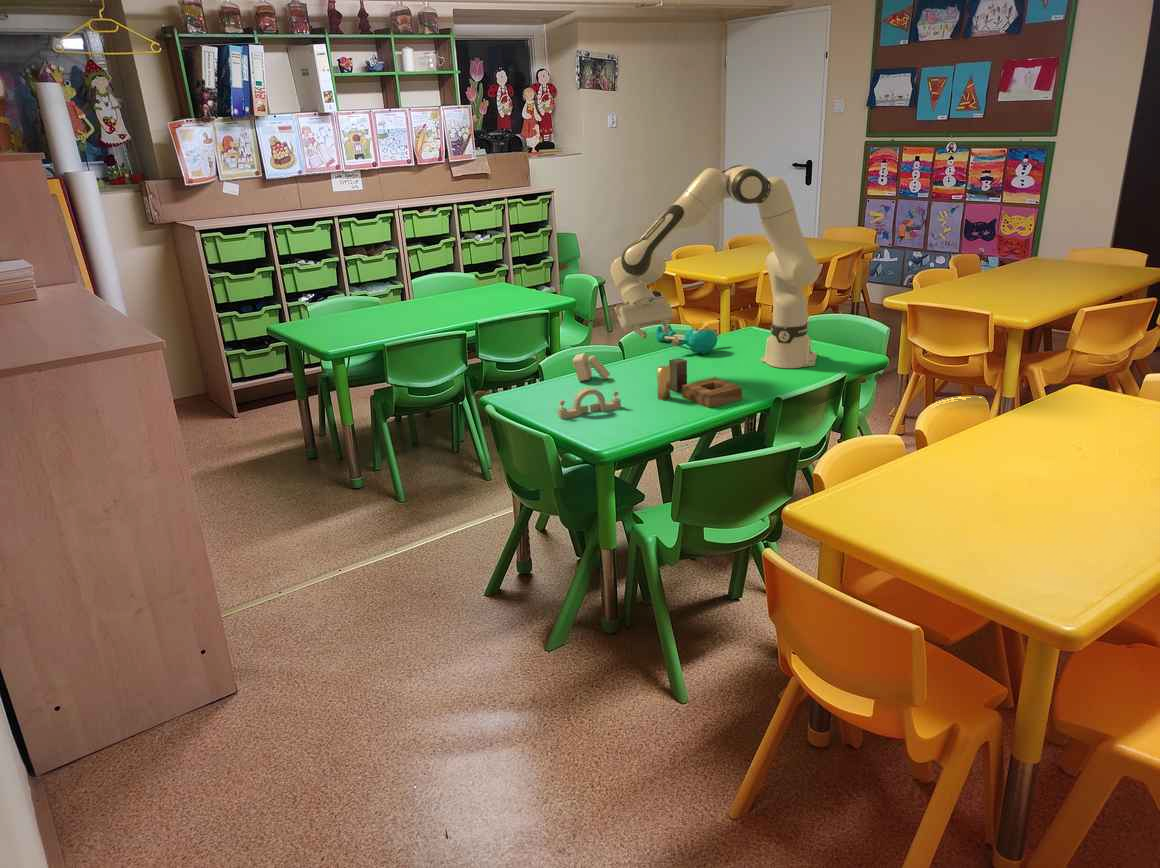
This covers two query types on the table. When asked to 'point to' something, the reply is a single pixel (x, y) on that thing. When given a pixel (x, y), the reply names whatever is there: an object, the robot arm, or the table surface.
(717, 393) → the walnut bore block
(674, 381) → the steel square bit
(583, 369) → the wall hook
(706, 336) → the toy
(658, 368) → the cylinder
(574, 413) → the gateway
